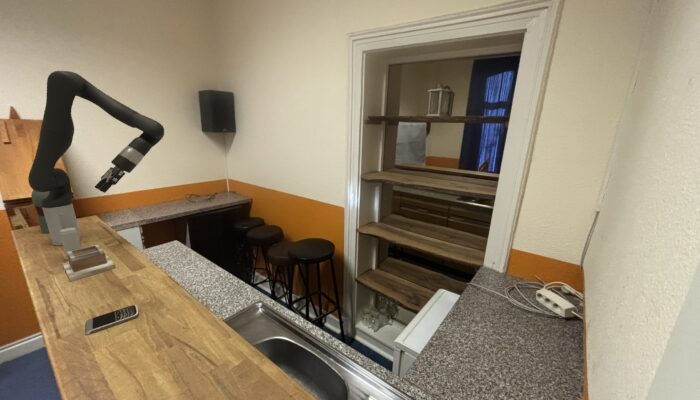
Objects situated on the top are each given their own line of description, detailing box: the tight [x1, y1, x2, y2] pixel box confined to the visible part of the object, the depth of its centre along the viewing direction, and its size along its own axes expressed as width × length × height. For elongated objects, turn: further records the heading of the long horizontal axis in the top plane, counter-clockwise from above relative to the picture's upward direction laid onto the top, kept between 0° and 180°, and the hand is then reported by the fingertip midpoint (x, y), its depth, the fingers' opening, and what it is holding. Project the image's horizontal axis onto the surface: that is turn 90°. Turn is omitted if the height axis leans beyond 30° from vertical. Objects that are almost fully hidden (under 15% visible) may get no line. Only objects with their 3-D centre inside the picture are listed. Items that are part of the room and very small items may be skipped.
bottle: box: [30, 189, 50, 234], centre depth 136 cm, size 9×9×30 cm
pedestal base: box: [62, 243, 116, 282], centre depth 102 cm, size 16×12×7 cm
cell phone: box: [84, 304, 139, 336], centre depth 74 cm, size 6×11×1 cm, turn 132°
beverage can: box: [60, 228, 83, 260], centre depth 109 cm, size 5×5×12 cm
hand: (99, 190), depth 113 cm, fingers open, 8 cm apart
